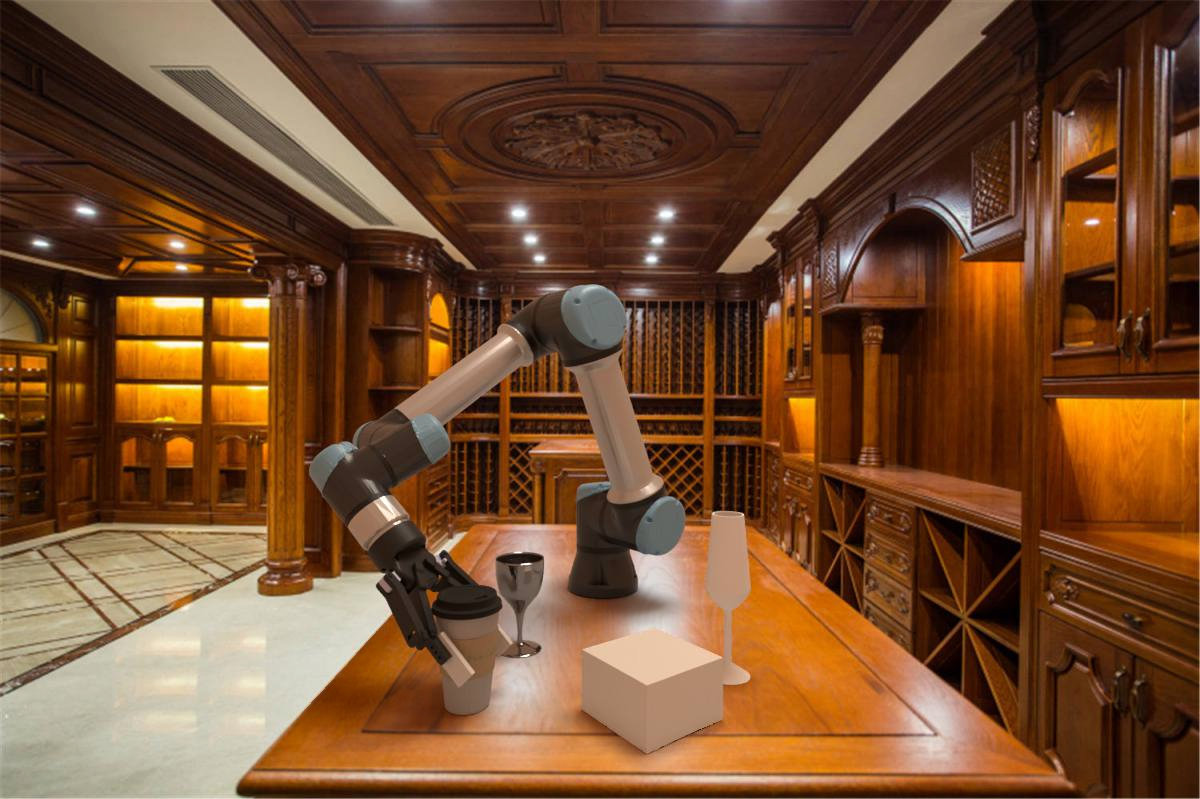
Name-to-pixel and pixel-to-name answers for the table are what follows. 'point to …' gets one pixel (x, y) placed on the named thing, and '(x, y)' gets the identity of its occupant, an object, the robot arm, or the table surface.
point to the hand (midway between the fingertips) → (487, 664)
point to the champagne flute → (728, 579)
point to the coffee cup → (469, 642)
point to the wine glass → (520, 593)
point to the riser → (652, 687)
